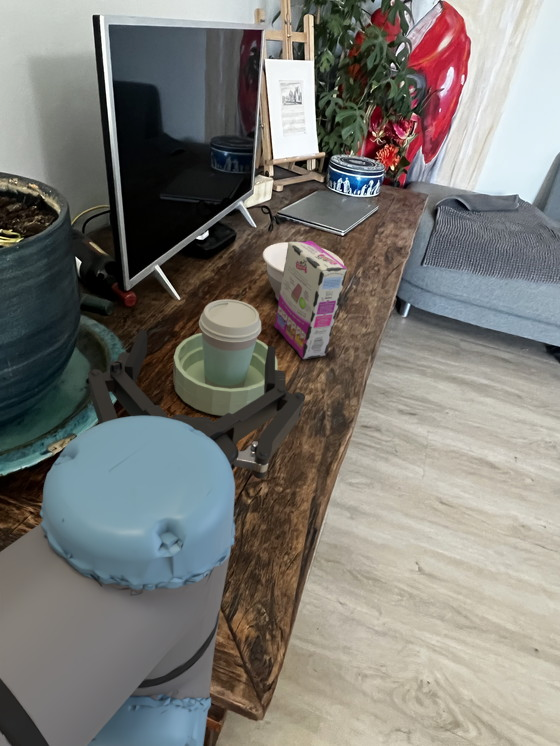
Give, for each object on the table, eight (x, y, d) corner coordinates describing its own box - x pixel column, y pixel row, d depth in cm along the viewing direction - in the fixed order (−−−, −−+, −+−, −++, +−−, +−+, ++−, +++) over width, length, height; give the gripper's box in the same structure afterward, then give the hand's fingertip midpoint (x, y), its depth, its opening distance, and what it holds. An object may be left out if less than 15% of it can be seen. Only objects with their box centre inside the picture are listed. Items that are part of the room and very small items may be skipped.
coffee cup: (234, 360, 79) (241, 293, 72) (264, 391, 73) (275, 322, 66) (185, 373, 74) (188, 303, 67) (213, 407, 69) (220, 335, 62)
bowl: (281, 323, 91) (288, 281, 86) (244, 283, 102) (249, 244, 97) (350, 312, 98) (360, 273, 93) (309, 276, 109) (317, 239, 104)
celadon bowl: (165, 412, 67) (165, 384, 65) (182, 351, 79) (183, 325, 76) (272, 424, 69) (277, 396, 66) (273, 362, 81) (277, 337, 78)
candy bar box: (327, 356, 85) (349, 268, 75) (302, 361, 82) (322, 270, 73) (296, 322, 92) (312, 238, 82) (272, 326, 90) (286, 240, 80)
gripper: (7, 526, 37) (91, 362, 54) (331, 553, 40) (314, 388, 57) (-13, 458, 33) (85, 303, 50) (353, 493, 35) (327, 333, 52)
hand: (207, 348), depth 53 cm, fingers open, 13 cm apart
